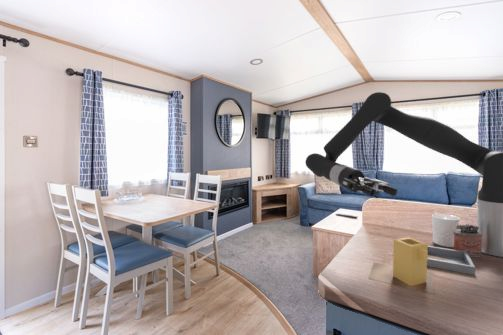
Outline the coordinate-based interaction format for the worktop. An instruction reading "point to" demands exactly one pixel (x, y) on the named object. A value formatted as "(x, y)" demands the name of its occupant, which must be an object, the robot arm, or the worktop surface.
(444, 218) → the white cup
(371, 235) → the worktop surface
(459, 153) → the robot arm
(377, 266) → the board
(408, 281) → the yellow open box
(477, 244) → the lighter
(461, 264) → the tray
